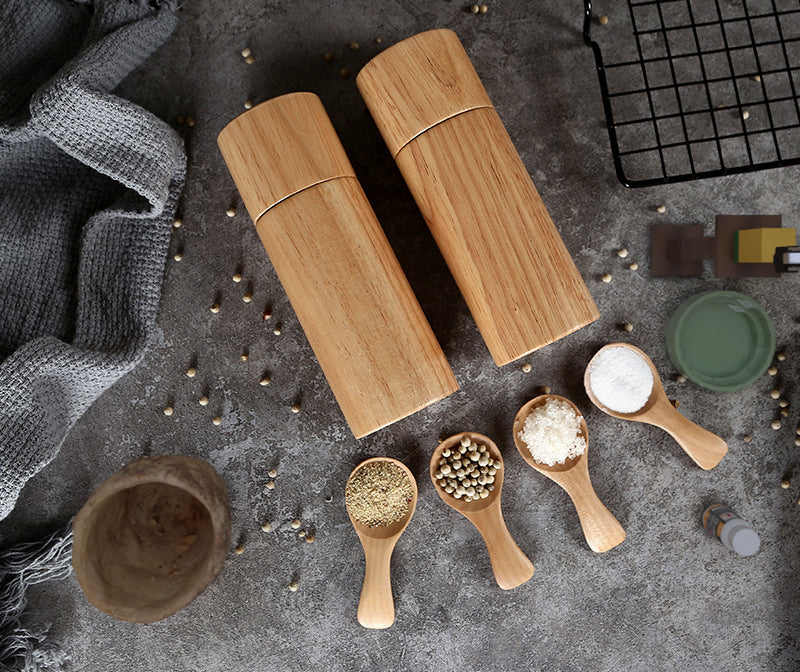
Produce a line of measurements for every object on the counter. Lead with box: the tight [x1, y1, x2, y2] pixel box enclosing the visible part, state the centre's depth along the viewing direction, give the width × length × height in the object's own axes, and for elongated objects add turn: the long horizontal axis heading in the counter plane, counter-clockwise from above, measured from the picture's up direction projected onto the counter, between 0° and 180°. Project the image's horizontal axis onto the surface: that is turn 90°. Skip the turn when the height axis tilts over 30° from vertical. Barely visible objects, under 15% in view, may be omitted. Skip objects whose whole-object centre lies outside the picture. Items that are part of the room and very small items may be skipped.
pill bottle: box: [702, 503, 761, 557], centre depth 112 cm, size 6×6×10 cm
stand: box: [649, 214, 783, 279], centre depth 104 cm, size 9×9×25 cm
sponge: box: [734, 227, 797, 263], centre depth 88 cm, size 4×4×7 cm
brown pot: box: [71, 453, 232, 625], centre depth 104 cm, size 22×22×25 cm
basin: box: [665, 289, 776, 392], centre depth 114 cm, size 18×18×4 cm
